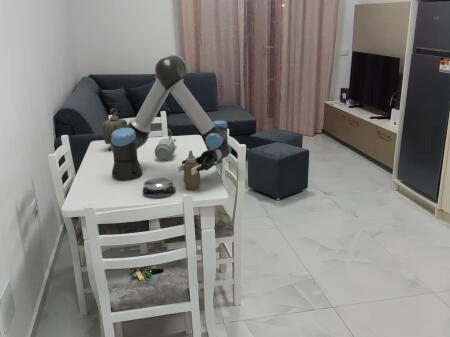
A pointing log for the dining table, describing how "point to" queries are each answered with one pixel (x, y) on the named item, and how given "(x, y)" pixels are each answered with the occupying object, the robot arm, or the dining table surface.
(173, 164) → the dining table surface
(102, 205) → the dining table surface
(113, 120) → the olive green container
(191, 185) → the squeeze bottle
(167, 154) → the device
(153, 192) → the base
